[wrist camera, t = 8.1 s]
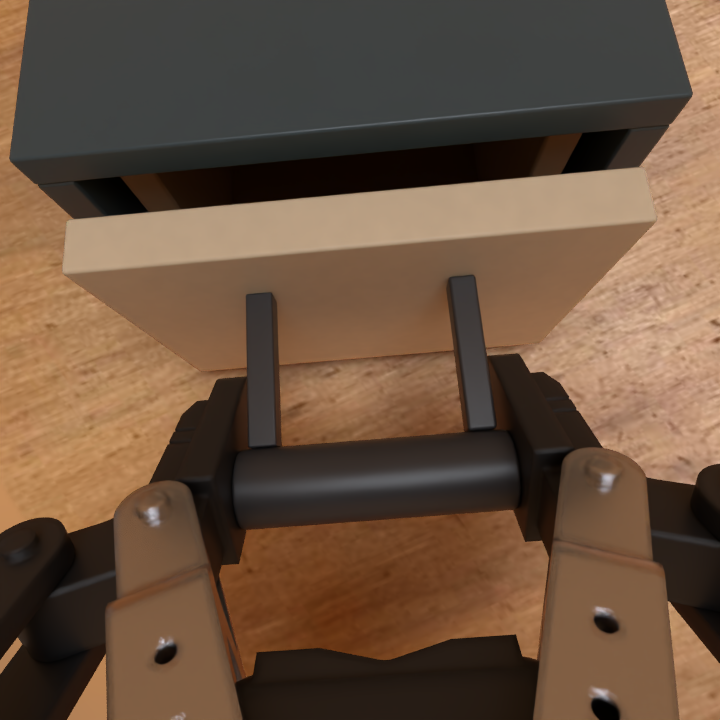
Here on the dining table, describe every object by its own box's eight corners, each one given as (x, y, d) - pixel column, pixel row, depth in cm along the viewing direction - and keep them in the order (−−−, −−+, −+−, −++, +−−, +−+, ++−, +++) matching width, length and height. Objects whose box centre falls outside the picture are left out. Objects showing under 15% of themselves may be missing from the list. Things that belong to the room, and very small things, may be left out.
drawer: (567, 499, 16) (731, 497, 8) (198, 527, 16) (34, 549, 9) (484, 22, 21) (539, -249, 13) (203, 51, 21) (102, -199, 14)
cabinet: (541, 298, 19) (694, 95, 9) (192, 328, 19) (7, 160, 10) (484, -15, 22) (554, -378, 13) (197, 14, 23) (68, -319, 14)
